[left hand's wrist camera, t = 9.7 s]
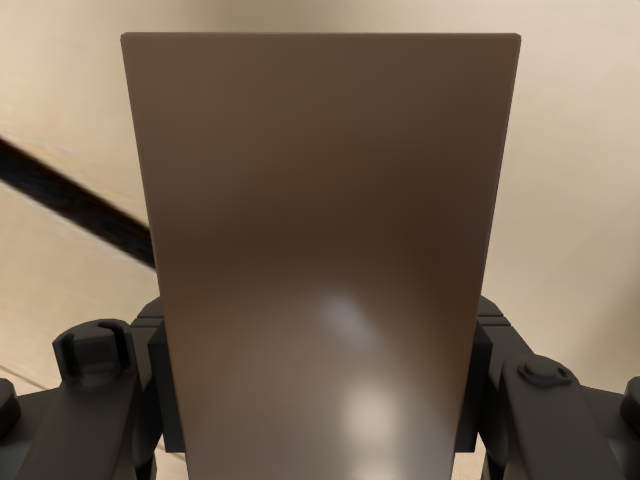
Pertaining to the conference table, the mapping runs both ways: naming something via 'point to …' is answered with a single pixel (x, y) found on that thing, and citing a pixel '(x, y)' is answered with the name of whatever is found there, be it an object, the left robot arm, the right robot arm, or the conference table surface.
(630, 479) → the left robot arm
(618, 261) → the conference table surface
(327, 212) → the post
